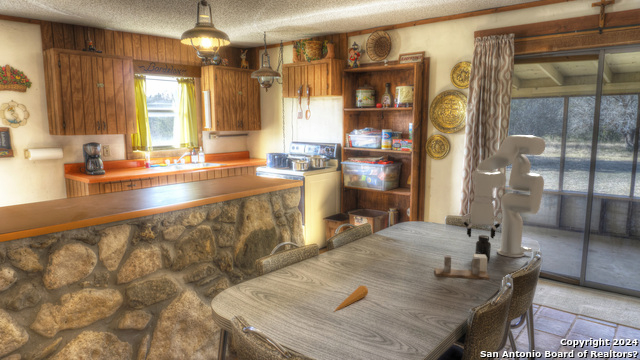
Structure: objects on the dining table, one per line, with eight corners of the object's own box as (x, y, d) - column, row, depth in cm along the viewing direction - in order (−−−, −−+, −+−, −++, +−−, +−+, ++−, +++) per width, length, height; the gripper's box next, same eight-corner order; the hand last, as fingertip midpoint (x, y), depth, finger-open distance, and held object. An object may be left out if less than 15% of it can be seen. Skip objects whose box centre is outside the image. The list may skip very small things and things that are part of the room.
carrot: (362, 295, 160) (358, 284, 161) (371, 294, 157) (367, 283, 158) (331, 318, 146) (326, 306, 146) (340, 317, 143) (335, 305, 143)
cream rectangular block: (484, 268, 188) (485, 254, 187) (486, 272, 183) (487, 258, 182) (472, 267, 189) (473, 253, 188) (474, 271, 184) (475, 257, 183)
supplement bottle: (474, 260, 198) (475, 237, 197) (475, 256, 204) (477, 233, 203) (489, 263, 195) (490, 238, 194) (490, 259, 201) (491, 235, 200)
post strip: (486, 273, 181) (486, 256, 180) (489, 279, 175) (490, 261, 173) (434, 270, 186) (435, 253, 185) (436, 275, 179) (436, 258, 178)
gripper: (501, 199, 184) (499, 236, 186) (461, 197, 187) (459, 233, 189) (505, 202, 176) (503, 240, 178) (463, 200, 180) (461, 238, 182)
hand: (480, 237), depth 184 cm, fingers open, 9 cm apart
